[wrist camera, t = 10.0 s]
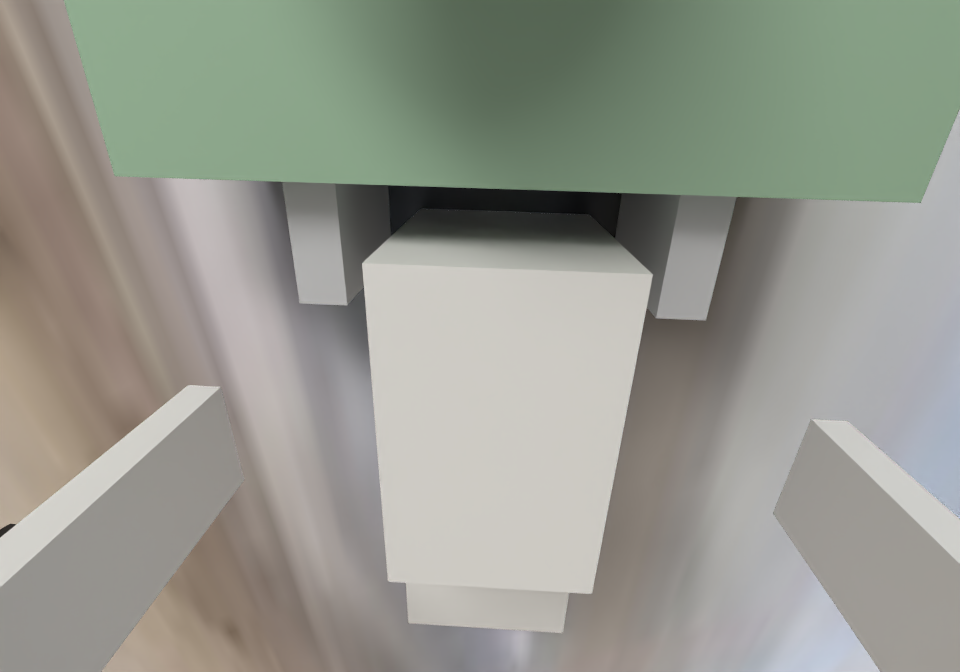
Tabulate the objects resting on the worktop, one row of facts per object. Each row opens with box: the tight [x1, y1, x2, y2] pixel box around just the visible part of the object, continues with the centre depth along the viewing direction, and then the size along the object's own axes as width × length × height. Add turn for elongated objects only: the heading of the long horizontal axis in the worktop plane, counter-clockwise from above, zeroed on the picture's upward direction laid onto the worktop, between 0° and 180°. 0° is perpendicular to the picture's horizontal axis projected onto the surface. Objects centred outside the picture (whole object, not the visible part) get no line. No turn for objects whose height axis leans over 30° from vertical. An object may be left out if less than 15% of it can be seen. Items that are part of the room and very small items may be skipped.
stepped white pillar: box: [362, 208, 653, 633], centre depth 15 cm, size 17×7×7 cm, turn 178°
